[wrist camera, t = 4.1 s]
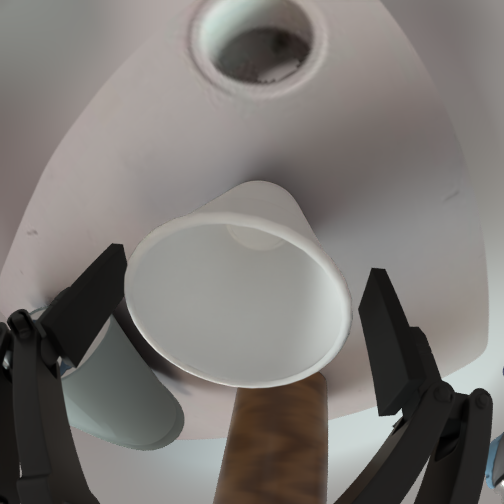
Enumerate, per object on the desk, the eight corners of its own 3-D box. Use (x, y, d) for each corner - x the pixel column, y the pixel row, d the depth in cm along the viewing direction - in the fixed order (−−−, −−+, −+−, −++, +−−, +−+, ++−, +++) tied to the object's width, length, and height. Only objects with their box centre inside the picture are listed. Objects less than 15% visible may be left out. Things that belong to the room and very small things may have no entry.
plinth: (336, 365, 28) (338, 539, 11) (316, 408, 34) (309, 538, 17) (238, 356, 29) (199, 531, 12) (239, 401, 35) (212, 530, 18)
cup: (226, 285, 24) (190, 393, 15) (175, 181, 20) (85, 256, 10) (340, 257, 21) (364, 372, 12) (303, 134, 17) (319, 171, 8)
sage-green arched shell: (131, 298, 27) (70, 395, 16) (196, 396, 36) (173, 472, 25) (33, 302, 32) (-12, 358, 21) (94, 381, 41) (66, 434, 30)
